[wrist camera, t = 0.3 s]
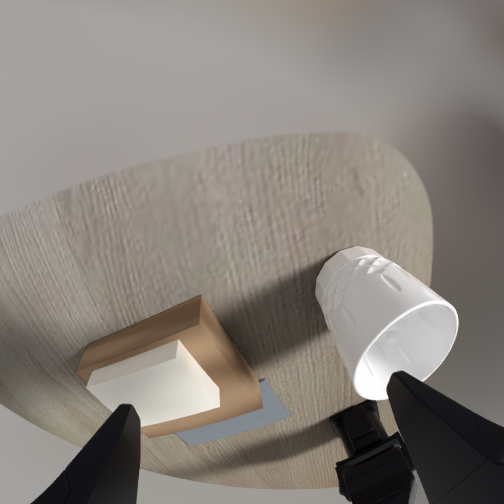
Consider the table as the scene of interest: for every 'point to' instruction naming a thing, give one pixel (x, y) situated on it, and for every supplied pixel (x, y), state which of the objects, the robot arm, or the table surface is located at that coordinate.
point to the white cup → (382, 320)
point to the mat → (240, 420)
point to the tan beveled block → (202, 350)
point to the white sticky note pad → (157, 385)
